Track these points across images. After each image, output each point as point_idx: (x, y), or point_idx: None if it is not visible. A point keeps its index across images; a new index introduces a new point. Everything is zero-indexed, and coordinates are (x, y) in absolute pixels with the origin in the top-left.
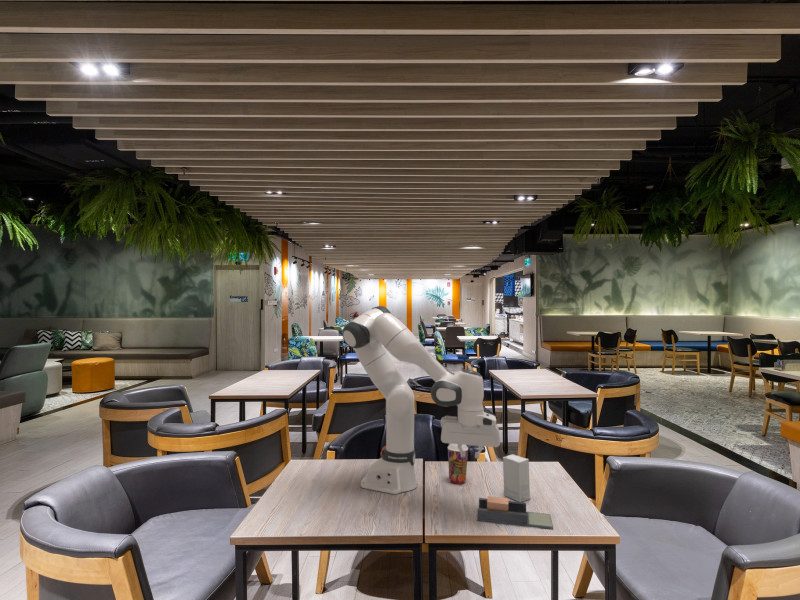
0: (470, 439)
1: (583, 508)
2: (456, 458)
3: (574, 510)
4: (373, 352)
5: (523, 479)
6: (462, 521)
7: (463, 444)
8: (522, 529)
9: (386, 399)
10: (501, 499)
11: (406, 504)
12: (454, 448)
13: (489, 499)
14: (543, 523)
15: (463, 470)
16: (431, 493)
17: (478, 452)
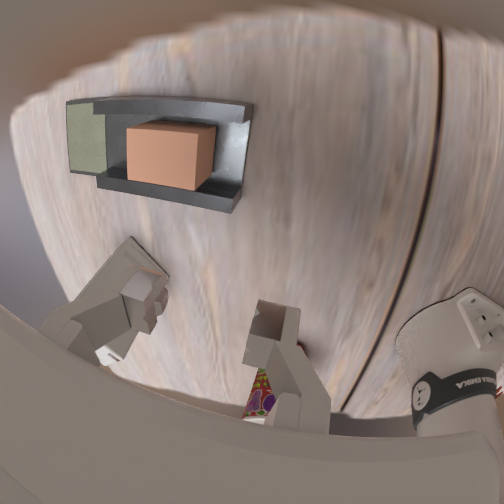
0: (102, 456)
1: (38, 215)
2: None
3: (46, 205)
4: None
5: (92, 278)
6: (308, 95)
7: (244, 420)
8: (126, 76)
9: None
10: (147, 165)
11: (464, 228)
12: None
13: (188, 160)
14: (79, 115)
15: None
16: (376, 295)
17: (105, 298)
